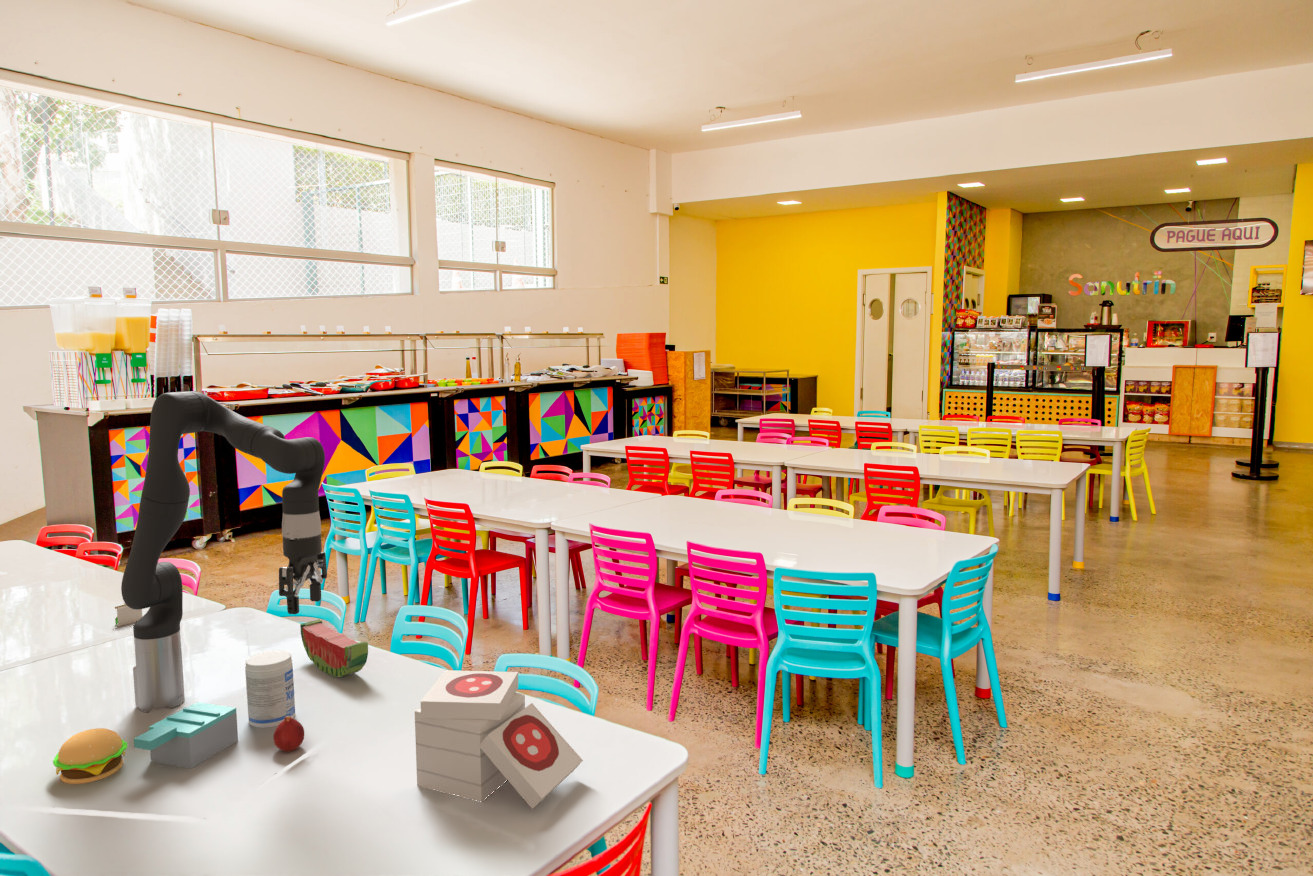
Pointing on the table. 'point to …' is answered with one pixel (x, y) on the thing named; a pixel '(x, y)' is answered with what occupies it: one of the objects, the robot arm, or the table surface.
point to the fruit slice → (333, 649)
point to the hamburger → (90, 756)
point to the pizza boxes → (487, 739)
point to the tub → (197, 745)
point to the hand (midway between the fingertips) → (304, 607)
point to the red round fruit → (289, 734)
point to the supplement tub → (269, 688)
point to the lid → (183, 724)
